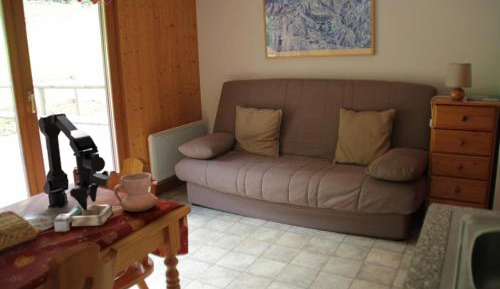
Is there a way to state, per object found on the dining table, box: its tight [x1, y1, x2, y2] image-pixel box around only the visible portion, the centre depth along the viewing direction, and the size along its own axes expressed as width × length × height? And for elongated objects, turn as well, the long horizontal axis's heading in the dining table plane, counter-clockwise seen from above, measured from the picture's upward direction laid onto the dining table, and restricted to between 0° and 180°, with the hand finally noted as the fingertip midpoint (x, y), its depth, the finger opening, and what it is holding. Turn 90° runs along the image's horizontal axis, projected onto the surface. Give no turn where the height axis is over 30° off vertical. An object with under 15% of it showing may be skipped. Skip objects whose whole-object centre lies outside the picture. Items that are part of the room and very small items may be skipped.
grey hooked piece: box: [53, 213, 82, 232], centre depth 166 cm, size 5×20×5 cm, turn 0°
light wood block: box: [81, 204, 100, 216], centre depth 167 cm, size 5×5×5 cm
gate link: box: [67, 200, 83, 224], centre depth 167 cm, size 17×4×5 cm, turn 0°
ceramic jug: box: [113, 172, 158, 213], centre depth 176 cm, size 18×14×14 cm
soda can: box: [72, 166, 81, 187], centre depth 201 cm, size 7×7×12 cm
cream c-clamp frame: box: [71, 203, 114, 227], centre depth 167 cm, size 12×13×4 cm
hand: (89, 205), depth 166 cm, fingers open, 9 cm apart
